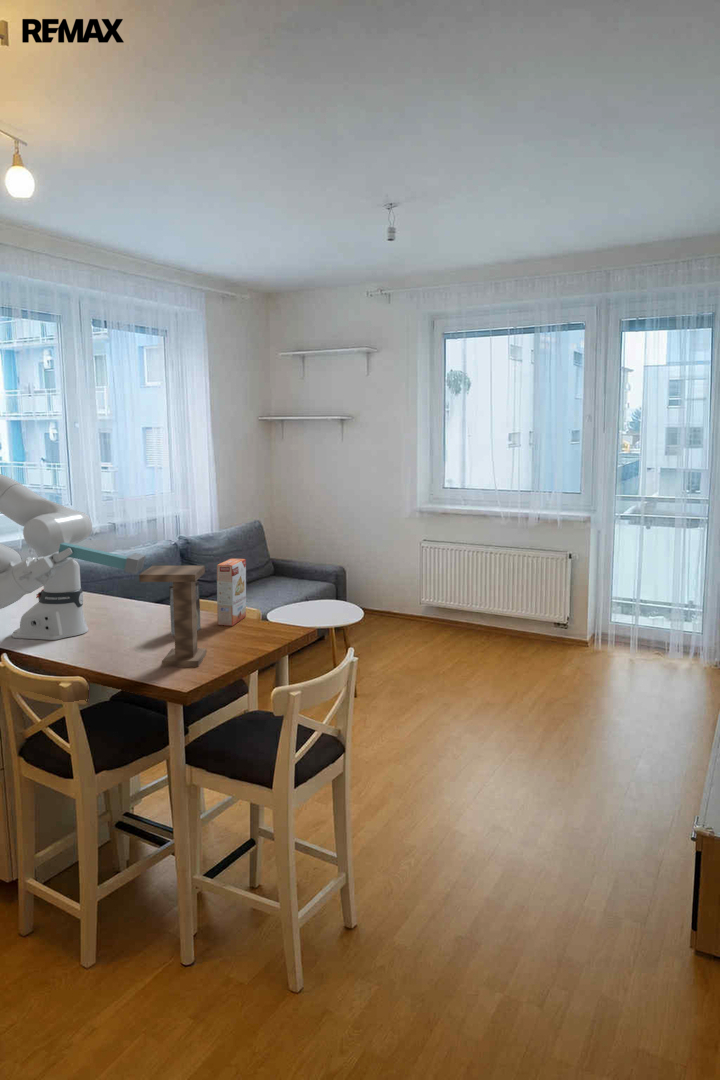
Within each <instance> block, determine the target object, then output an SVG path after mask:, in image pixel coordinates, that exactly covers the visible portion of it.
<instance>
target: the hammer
mask: <svg viewBox="0 0 720 1080" xmlns="http://www.w3.org/2000/svg"><path fill="white" fill-rule="evenodd" d="M68 548H72V550H73V551H74V553H72V554H71V555H69V556H67V557H71V558H74V559H76V560H82V561H85V562H90V563H93V564H97V565H103V566H108V567H112V568H116V569H120V570H123V572H124V573H128V574H133V575H136V574H137V573H139V572H140V571H141V570H143V568H144V565H145V564H144V563H145V559H146V555H145V554H140V553H137V552H136V553H133V554H131V555H129V556H125V555H120V554H116V553H112V552H107V551H103V550H99V549H96V548H95V549H94V548H90V547H86V546H82V545H81V546H80V545H77V544H69V543H62V544H60V548H59V553H60V552H62V551H64V550H66V549H68Z"/></svg>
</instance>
